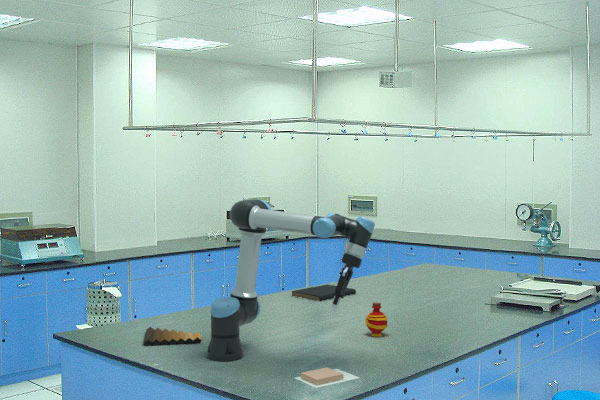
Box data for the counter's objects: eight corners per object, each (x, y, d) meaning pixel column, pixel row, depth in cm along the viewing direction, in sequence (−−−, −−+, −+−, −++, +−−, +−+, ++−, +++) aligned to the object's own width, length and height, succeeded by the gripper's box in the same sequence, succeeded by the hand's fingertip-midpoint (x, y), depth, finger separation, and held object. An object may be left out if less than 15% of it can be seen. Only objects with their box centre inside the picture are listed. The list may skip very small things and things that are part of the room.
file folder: (327, 283, 438) (356, 288, 421) (326, 290, 438) (356, 295, 421) (291, 290, 414) (320, 296, 397) (291, 297, 414) (320, 302, 397)
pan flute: (146, 333, 321) (143, 347, 296) (146, 326, 321) (143, 339, 296) (199, 331, 325) (201, 344, 301) (199, 324, 325) (201, 337, 301)
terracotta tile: (326, 367, 255) (300, 372, 248) (343, 373, 247) (316, 379, 240) (326, 372, 255) (300, 378, 248) (343, 379, 247) (316, 385, 240)
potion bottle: (375, 331, 322) (375, 300, 322) (392, 335, 315) (392, 303, 314) (360, 335, 316) (360, 303, 315) (376, 339, 308) (377, 306, 307)
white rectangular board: (336, 370, 260) (336, 368, 260) (360, 379, 249) (360, 377, 249) (293, 379, 249) (293, 377, 249) (316, 389, 237) (316, 387, 237)
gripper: (360, 257, 258) (338, 315, 256) (364, 260, 271) (343, 316, 268) (342, 250, 260) (319, 308, 258) (347, 254, 273) (326, 309, 270)
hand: (332, 312), depth 263 cm, fingers closed
